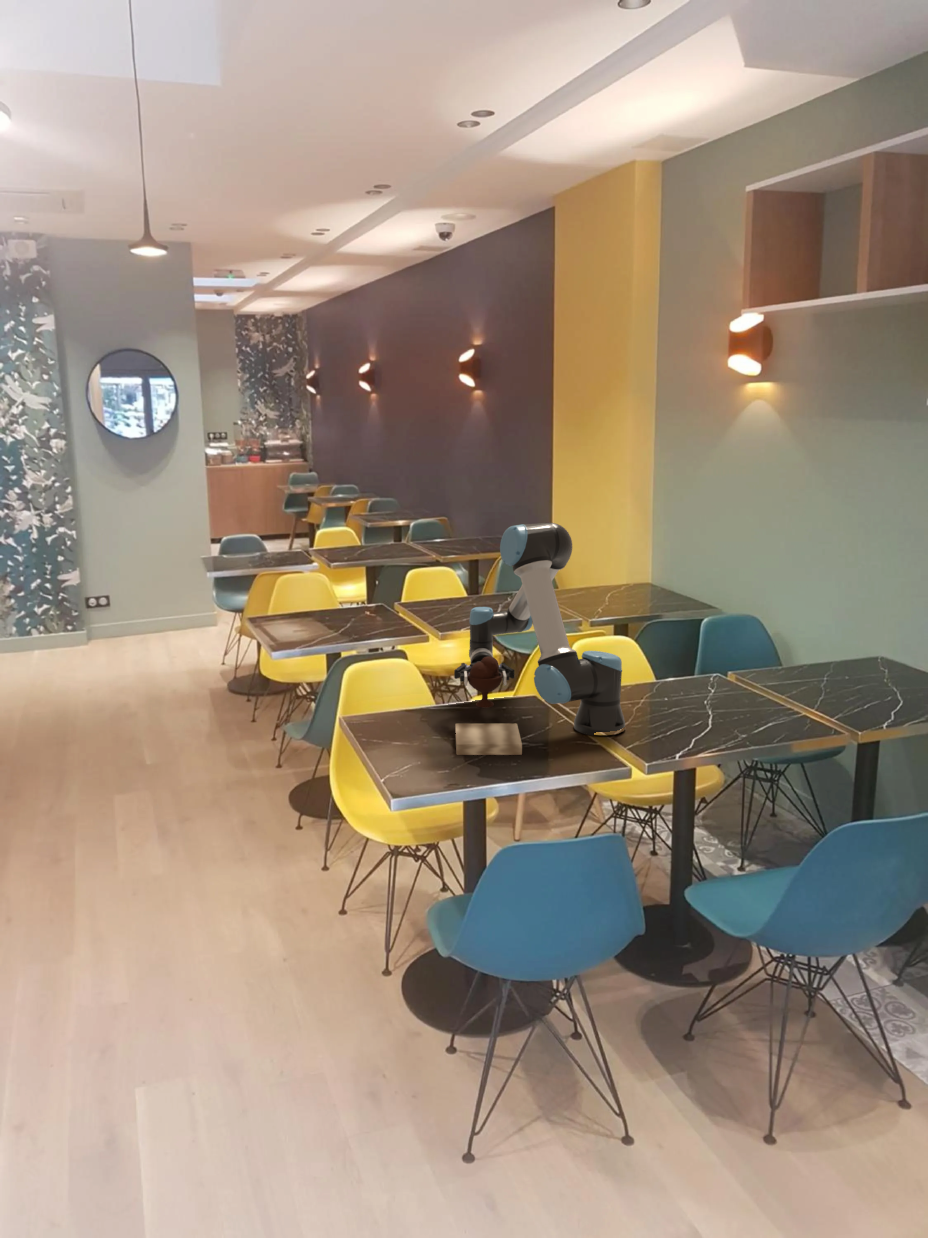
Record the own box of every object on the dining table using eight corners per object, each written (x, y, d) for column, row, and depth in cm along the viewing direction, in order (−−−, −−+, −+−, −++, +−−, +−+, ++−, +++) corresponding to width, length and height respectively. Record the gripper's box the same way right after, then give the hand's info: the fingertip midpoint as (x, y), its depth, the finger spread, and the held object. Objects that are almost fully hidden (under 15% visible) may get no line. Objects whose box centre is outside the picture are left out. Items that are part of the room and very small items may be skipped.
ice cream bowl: (489, 697, 303) (489, 650, 300) (509, 706, 294) (510, 658, 291) (460, 702, 298) (460, 654, 295) (479, 712, 288) (479, 662, 285)
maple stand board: (516, 733, 288) (516, 723, 288) (521, 754, 271) (522, 744, 270) (455, 733, 288) (455, 723, 287) (456, 754, 270) (456, 744, 270)
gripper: (519, 673, 313) (524, 693, 291) (445, 674, 312) (446, 693, 290) (519, 650, 311) (525, 668, 289) (445, 651, 310) (446, 669, 289)
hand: (485, 681), depth 290 cm, fingers closed on ice cream bowl, 11 cm apart
